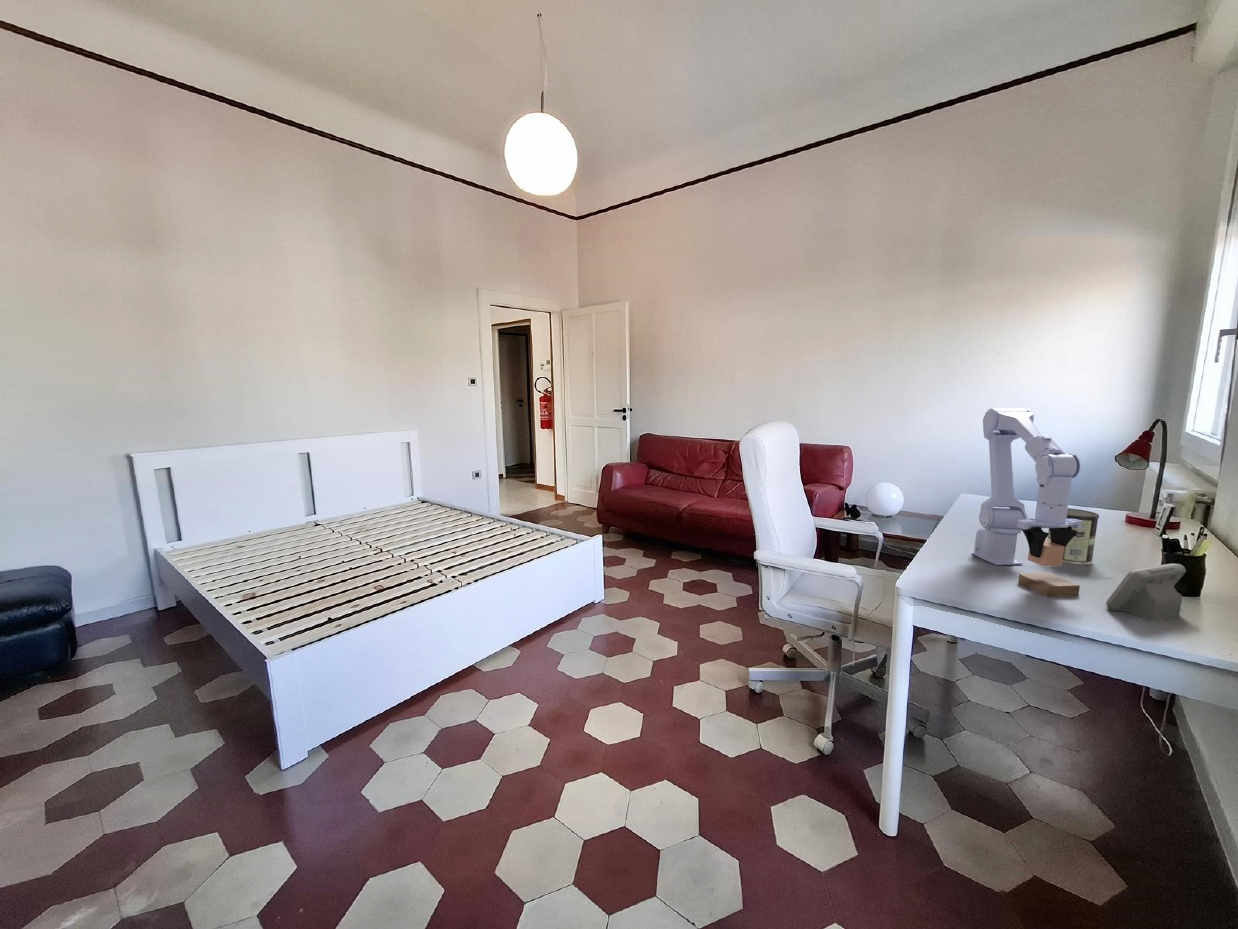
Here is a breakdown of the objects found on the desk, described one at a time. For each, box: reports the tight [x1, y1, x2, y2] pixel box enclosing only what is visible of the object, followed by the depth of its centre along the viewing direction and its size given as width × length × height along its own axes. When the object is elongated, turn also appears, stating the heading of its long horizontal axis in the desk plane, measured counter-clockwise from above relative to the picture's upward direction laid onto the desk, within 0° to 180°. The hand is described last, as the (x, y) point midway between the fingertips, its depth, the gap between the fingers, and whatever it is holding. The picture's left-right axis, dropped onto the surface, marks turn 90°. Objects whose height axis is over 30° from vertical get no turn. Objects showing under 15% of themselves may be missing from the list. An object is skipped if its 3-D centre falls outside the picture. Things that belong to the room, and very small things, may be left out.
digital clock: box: [1105, 563, 1187, 621], centre depth 108 cm, size 16×9×11 cm, turn 94°
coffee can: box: [1046, 507, 1100, 566], centre depth 140 cm, size 10×10×14 cm
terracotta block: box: [1027, 540, 1065, 567], centre depth 120 cm, size 4×4×5 cm
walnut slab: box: [1018, 572, 1081, 598], centre depth 120 cm, size 8×8×3 cm
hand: (1045, 556), depth 120 cm, fingers closed on terracotta block, 5 cm apart
